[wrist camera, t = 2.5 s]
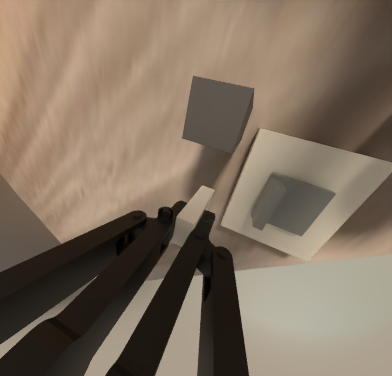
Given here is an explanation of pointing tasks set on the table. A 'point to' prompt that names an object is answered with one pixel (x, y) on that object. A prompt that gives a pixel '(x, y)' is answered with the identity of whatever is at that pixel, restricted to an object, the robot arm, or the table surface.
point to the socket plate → (307, 172)
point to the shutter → (290, 204)
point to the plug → (217, 113)
